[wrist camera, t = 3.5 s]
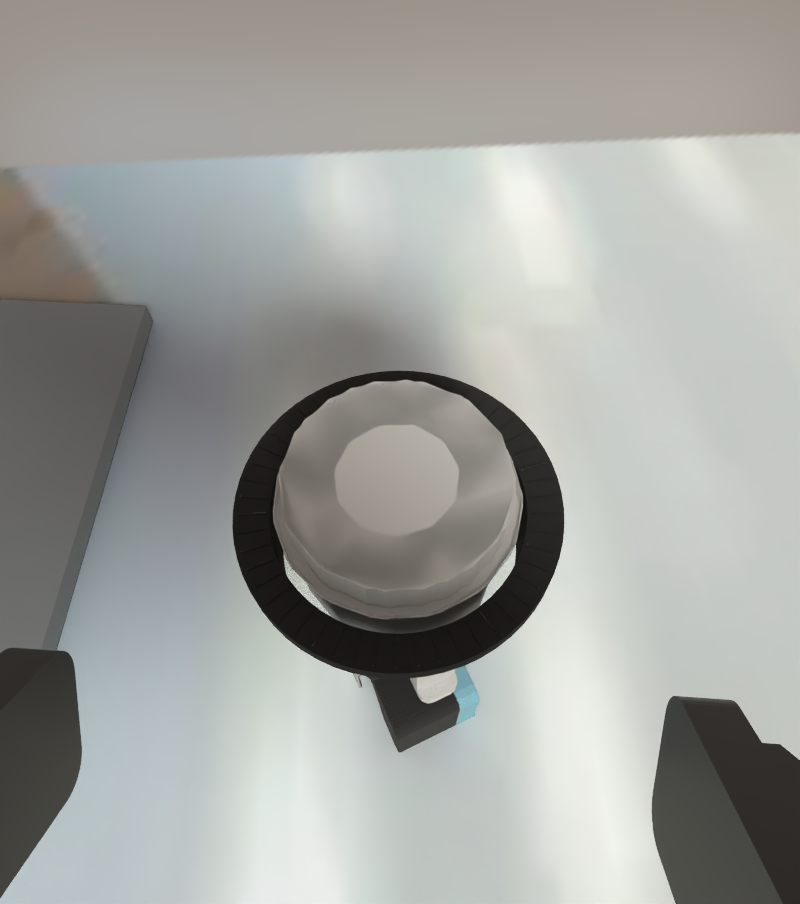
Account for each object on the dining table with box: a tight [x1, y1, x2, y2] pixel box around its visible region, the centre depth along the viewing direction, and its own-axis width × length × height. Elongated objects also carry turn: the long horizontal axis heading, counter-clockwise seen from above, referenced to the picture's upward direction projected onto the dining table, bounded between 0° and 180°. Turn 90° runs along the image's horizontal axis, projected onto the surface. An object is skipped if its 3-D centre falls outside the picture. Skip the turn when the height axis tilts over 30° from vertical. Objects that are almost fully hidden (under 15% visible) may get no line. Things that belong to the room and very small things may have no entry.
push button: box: [233, 371, 564, 752], centre depth 16 cm, size 7×5×10 cm
